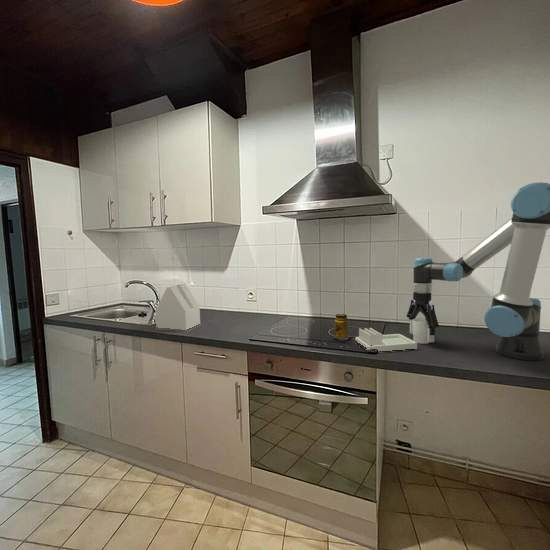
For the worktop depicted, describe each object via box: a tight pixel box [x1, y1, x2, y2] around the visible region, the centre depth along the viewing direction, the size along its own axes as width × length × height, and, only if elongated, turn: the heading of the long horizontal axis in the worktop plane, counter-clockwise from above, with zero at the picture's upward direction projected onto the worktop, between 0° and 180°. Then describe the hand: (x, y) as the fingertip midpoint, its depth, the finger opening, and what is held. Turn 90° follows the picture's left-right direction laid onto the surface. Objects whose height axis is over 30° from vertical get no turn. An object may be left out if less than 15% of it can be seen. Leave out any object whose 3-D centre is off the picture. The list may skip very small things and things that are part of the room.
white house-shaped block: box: [155, 283, 201, 330], centre depth 179 cm, size 19×15×25 cm
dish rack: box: [354, 327, 418, 352], centre depth 137 cm, size 14×22×7 cm, turn 98°
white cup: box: [412, 317, 430, 345], centre depth 141 cm, size 8×8×10 cm
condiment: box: [334, 313, 349, 338], centre depth 149 cm, size 7×8×12 cm
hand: (421, 337), depth 142 cm, fingers open, 13 cm apart
